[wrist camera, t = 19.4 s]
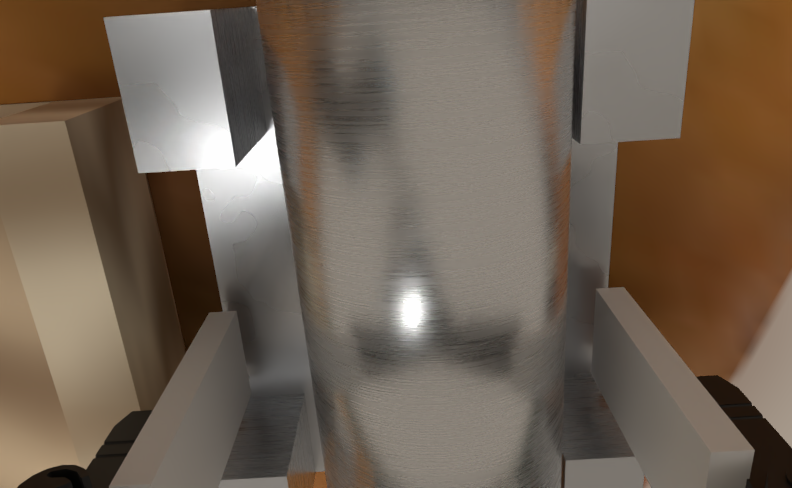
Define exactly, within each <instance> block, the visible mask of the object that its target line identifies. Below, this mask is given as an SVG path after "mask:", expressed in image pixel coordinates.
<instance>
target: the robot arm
mask: <svg viewBox="0 0 792 488" xmlns="http://www.w3.org/2000/svg"><path fill="white" fill-rule="evenodd" d="M591 375H592V377H593V378H594V380H595V382H596V384H597V386H598V388H599V390H600V392H601V394H602V395H603V397H604V399H605V401H606V403H607V405H608V407H609V409H610V411H611V412H612V414H613V416H614V418H615V420H616V422H617V424H618V426H619V428H620V429H621V431H622V433H623V435H624V437H625V439H626V441H627V443H628V444H629V446H630V448H631V450H632V452H633V454H634V456H635V458H636V460H637V461H638V463H639V465H640V467H641V469H642V471H643V473H644V475H645V477H646V478H647V480H648V482H649V484H650V486H651V488H792V448H791V447H790V446H789V445H788V443H787V442H786V441H785V440H784V439H783V438H782V437H781V436H780V435H779V433H778V432H777V431H776V430H775V429H774V428H773V427H772V426H771V424H770V423H769V422H768V421H767V420H766V419H765V418H763V417H762V414H761V413H760V412H759V411H758V410H757V409H756V407H755V406H752V403H751V402H750V401H749V400H748V398H747V397H746V396H745V395H744V394H743V393H742V392H741V391H740V389H739V388H737V387H736V386H734V385H733V384H731V383H729V382H728V381H726V380H724V379H723V378H721V377H719V376H718V375H716V376H699V377H696V376H695V375H694V374H693V373H692V371H691V370H690V369H689V368H688V366H687V365H686V364H685V363H684V361H683V360H682V359H681V358H680V356H679V355H678V354H677V353H676V351H675V350H674V349H673V348H672V346H671V345H670V344H669V343H668V341H667V340H666V339H665V338H664V336H663V335H662V334H661V333H660V331H659V330H658V329H657V328H656V326H655V325H654V324H653V323H652V321H651V320H650V319H649V318H648V316H647V315H646V314H645V313H644V311H643V310H642V309H641V308H640V306H639V305H638V304H637V303H636V301H635V300H634V299H633V298H632V297H631V295H630V294H629V293H628V292H627V290H626V289H625V288H624V287H616V288H599V289H596V297H595V314H594V330H593V347H592V364H591ZM250 396H251V389H250V383H249V377H248V372H247V366H246V361H245V355H244V350H243V344H242V339H241V333H240V327H239V322H238V316H237V311H224V312H209V314H208V315H207V317H206V319H205V321H204V322H203V324H202V326H201V328H200V329H199V331H198V333H197V335H196V336H195V338H194V340H193V341H192V343H191V345H190V347H189V348H188V350H187V352H186V354H185V355H184V357H183V359H182V361H181V362H180V364H179V366H178V367H177V369H176V371H175V373H174V374H173V376H172V378H171V380H170V381H169V383H168V385H167V387H166V388H165V390H164V392H163V393H162V395H161V397H160V399H159V400H158V402H157V404H156V406H155V407H154V409H153V410H145V411H132V412H131V413H129V414H128V415H127V416H126V417H125V418H123V419H122V420H121V421H120V422H118V423H117V424H116V425H115V426H114V427H113V429H112V430H111V432H110V433H109V435H108V436H107V438H106V440H105V441H104V445H102V446H101V447H100V449H99V450H98V452H97V453H96V455H95V456H96V457H95V458H94V459H93V460H92V461H91V463H90V464H89V466H88V467H87V469H86V470H85V468H82V467H80V466H77V465H60V466H56V467H52V468H48V469H45V470H43V471H41V472H39V473H37V474H35V475H33V476H31V477H30V478H28V479H27V480H25V481H24V482H23V483H21V484H20V485H19V486H18V487H17V488H218V487H219V484H220V481H221V478H222V476H223V473H224V470H225V467H226V464H227V461H228V459H229V456H230V453H231V450H232V447H233V444H234V442H235V439H236V436H237V433H238V430H239V427H240V425H241V422H242V419H243V416H244V413H245V410H246V408H247V405H248V402H249V399H250Z"/></svg>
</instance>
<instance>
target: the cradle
mask: <svg viewBox="0 0 792 488" xmlns="http://www.w3.org/2000/svg"><path fill="white" fill-rule="evenodd" d="M694 2H695V0H576V20H575V52H574V85H573V117H572V149H571V181H570V214H569V246H568V278H567V310H566V343H565V375H564V407H563V439H562V472H561V488H643V482H644V473H643V471H642V469H641V467H640V465H639V463H638V461H637V460H636V458H635V456H634V454H633V452H632V450H631V448H630V446H629V444H628V443H627V441H626V439H625V437H624V435H623V433H622V431H621V429H620V428H619V426H618V424H617V422H616V420H615V418H614V416H613V414H612V412H611V411H610V409H609V407H608V405H607V403H606V401H605V399H604V397H603V395H602V394H601V392H600V390H599V388H598V386H597V384H596V382H595V380H594V378H593V377H592V375H591V364H592V347H593V330H594V314H595V297H596V289H599V288H608V280H609V266H610V251H611V237H612V222H613V208H614V193H615V179H616V164H617V150H618V142H626V141H641V140H657V139H672V138H680V134H681V124H682V115H683V105H684V96H685V86H686V77H687V68H688V58H689V49H690V39H691V30H692V21H693V11H694ZM103 18H104V23H105V27H106V32H107V36H108V40H109V45H110V49H111V54H112V58H113V63H114V67H115V72H116V76H117V80H118V85H119V89H120V94H121V98H122V103H123V107H124V112H125V116H126V120H127V125H128V129H129V134H130V138H131V143H132V147H133V152H134V156H135V160H136V165H137V169H138V173H151V172H166V171H182V170H196V172H197V177H198V183H199V188H200V193H201V199H202V204H203V209H204V214H205V220H206V225H207V230H208V236H209V241H210V246H211V251H212V257H213V262H214V267H215V273H216V278H217V283H218V288H219V294H220V299H221V304H222V310H223V312H224V311H237V316H238V322H239V327H240V333H241V339H242V344H243V350H244V355H245V361H246V366H247V372H248V377H249V383H250V389H251V396H250V399H249V402H248V405H247V408H246V410H245V413H244V416H243V419H242V422H241V425H240V427H239V430H238V433H237V436H236V439H235V442H234V444H233V447H232V450H231V453H230V456H229V459H228V461H227V464H226V467H225V470H224V473H223V476H222V478H221V481H220V484H219V487H218V488H313V486H314V479H315V473H316V472H320V471H325V468H324V461H323V455H322V448H321V441H320V434H319V428H318V421H317V414H316V407H315V400H314V394H313V387H312V380H311V373H310V366H309V360H308V353H307V346H306V339H305V332H304V326H303V319H302V312H301V305H300V299H299V292H298V285H297V278H296V271H295V265H294V258H293V251H292V244H291V237H290V231H289V224H288V217H287V210H286V204H285V197H284V190H283V183H282V176H281V170H280V163H279V156H278V149H277V142H276V136H275V129H274V122H273V115H272V108H271V102H270V95H269V88H268V81H267V75H266V68H265V61H264V54H263V47H262V41H261V34H260V27H259V20H258V13H257V7H256V6H254V7H240V8H225V9H211V10H196V11H182V12H168V13H155V14H141V15H128V16H114V17H103Z"/></svg>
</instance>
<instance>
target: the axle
mask: <svg viewBox="0 0 792 488" xmlns="http://www.w3.org/2000/svg"><path fill="white" fill-rule="evenodd" d="M256 7H257V13H258V20H259V27H260V34H261V41H262V47H263V54H264V61H265V68H266V75H267V81H268V88H269V95H270V102H271V108H272V115H273V122H274V129H275V136H276V142H277V149H278V156H279V163H280V170H281V176H282V183H283V190H284V197H285V204H286V210H287V217H288V224H289V231H290V237H291V244H292V251H293V258H294V265H295V271H296V278H297V285H298V292H299V299H300V305H301V312H302V319H303V326H304V332H305V339H306V346H307V353H308V360H309V366H310V373H311V380H312V387H313V394H314V400H315V407H316V414H317V421H318V428H319V434H320V441H321V448H322V455H323V461H324V468H325V475H326V482H327V488H561V472H562V439H563V407H564V375H565V343H566V310H567V278H568V246H569V214H570V181H571V149H572V117H573V85H574V52H575V20H576V0H256Z"/></svg>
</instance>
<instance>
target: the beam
mask: <svg viewBox="0 0 792 488" xmlns="http://www.w3.org/2000/svg"><path fill="white" fill-rule="evenodd" d="M185 354H186V350H185V346H184V341H183V337H182V332H181V327H180V323H179V318H178V314H177V309H176V305H175V300H174V296H173V291H172V287H171V282H170V277H169V273H168V268H167V264H166V259H165V255H164V250H163V246H162V241H161V237H160V232H159V227H158V223H157V218H156V214H155V209H154V205H153V200H152V196H151V191H150V187H149V182H148V177H147V173H138V169H137V165H136V160H135V156H134V152H133V147H132V143H131V138H130V134H129V129H128V125H127V120H126V116H125V112H124V107H123V103H122V98H121V97H108V98H93V99H78V100H63V101H48V102H33V103H19V104H4V105H0V488H17V487H18V486H19V485H20V484H21V483H23V482H24V481H25V480H27V479H28V478H30V477H31V476H33V475H35V474H37V473H39V472H41V471H43V470H45V469H48V468H52V467H56V466H60V465H77V466H80V467H82V468H85V470H86V469H87V467H88V466H89V464H90V463H91V461H92V460H93V459H94V458H95V457H96V456H95V455H96V453H97V452H98V450H99V449H100V447H101V446H102V445H104V441H105V440H106V438H107V436H108V435H109V433H110V432H111V430H112V429H113V427H114V426H115V425H116V424H117V423H118V422H120V421H121V420H122V419H123V418H125V417H126V416H127V415H128V414H129V413H131V412H132V411H145V410H153V409H154V407H155V406H156V404H157V402H158V400H159V399H160V397H161V395H162V393H163V392H164V390H165V388H166V387H167V385H168V383H169V381H170V380H171V378H172V376H173V374H174V373H175V371H176V369H177V367H178V366H179V364H180V362H181V361H182V359H183V357H184V355H185Z"/></svg>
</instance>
